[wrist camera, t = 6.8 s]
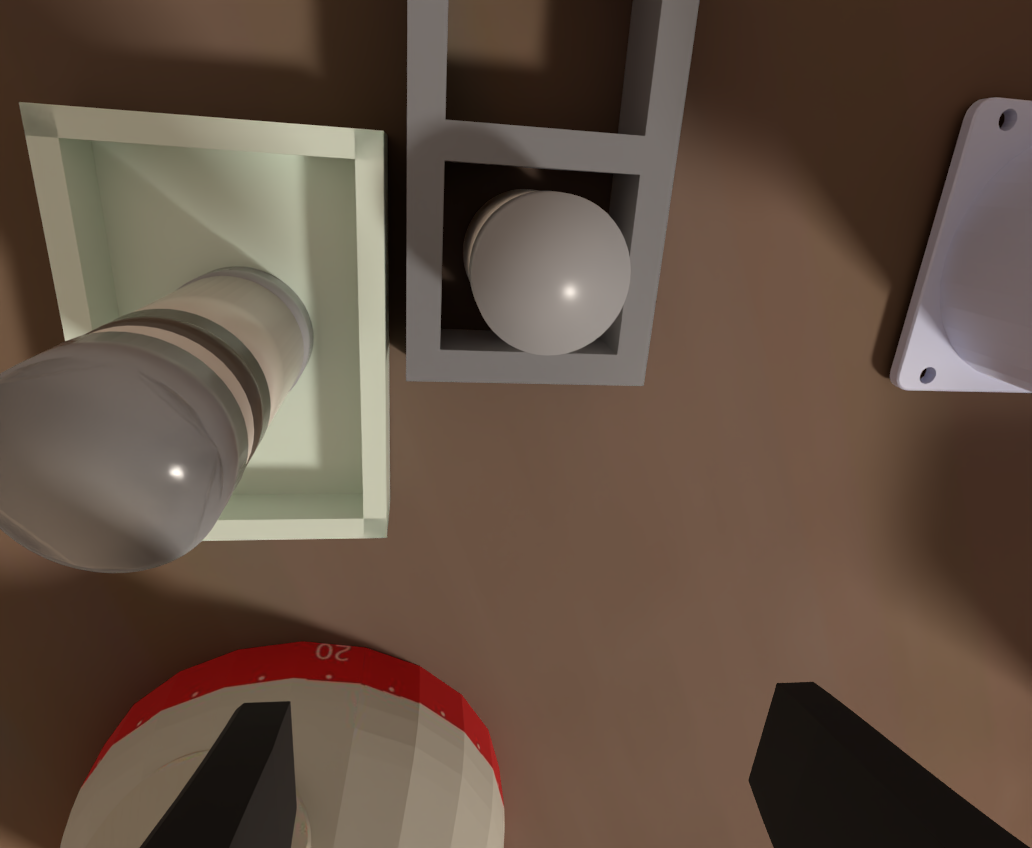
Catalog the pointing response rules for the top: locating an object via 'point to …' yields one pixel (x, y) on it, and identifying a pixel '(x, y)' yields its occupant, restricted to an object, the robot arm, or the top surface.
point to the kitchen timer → (309, 752)
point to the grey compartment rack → (546, 220)
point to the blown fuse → (147, 421)
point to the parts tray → (248, 243)
